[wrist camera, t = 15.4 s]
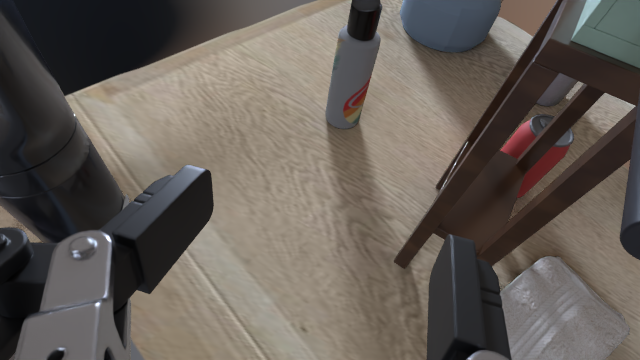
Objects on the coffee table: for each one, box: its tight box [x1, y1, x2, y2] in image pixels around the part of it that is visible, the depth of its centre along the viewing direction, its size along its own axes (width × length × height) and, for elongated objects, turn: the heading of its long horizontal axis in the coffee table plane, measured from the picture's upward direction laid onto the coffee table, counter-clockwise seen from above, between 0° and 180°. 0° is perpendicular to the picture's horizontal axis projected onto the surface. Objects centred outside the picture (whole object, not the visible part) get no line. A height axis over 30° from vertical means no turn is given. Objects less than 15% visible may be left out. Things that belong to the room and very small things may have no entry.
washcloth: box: [500, 256, 630, 360], centre depth 42 cm, size 12×18×3 cm, turn 125°
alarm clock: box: [400, 0, 503, 52], centre depth 75 cm, size 19×20×12 cm
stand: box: [394, 0, 640, 269], centre depth 37 cm, size 8×16×32 cm, turn 147°
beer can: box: [501, 114, 574, 198], centre depth 51 cm, size 7×7×12 cm
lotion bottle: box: [326, 0, 382, 129], centre depth 52 cm, size 6×6×20 cm
